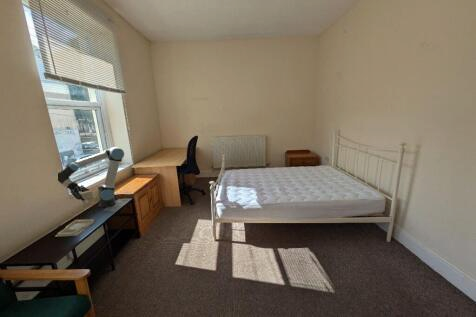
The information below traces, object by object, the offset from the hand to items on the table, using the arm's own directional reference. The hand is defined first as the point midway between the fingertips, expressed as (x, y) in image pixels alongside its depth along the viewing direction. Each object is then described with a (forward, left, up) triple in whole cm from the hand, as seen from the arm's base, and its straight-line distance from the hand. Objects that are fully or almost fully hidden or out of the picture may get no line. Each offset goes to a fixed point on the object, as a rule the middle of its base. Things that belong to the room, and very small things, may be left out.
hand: (91, 200), depth 185 cm
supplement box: (0, -3, -5) cm, 6 cm away
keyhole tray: (+19, -3, -18) cm, 26 cm away
